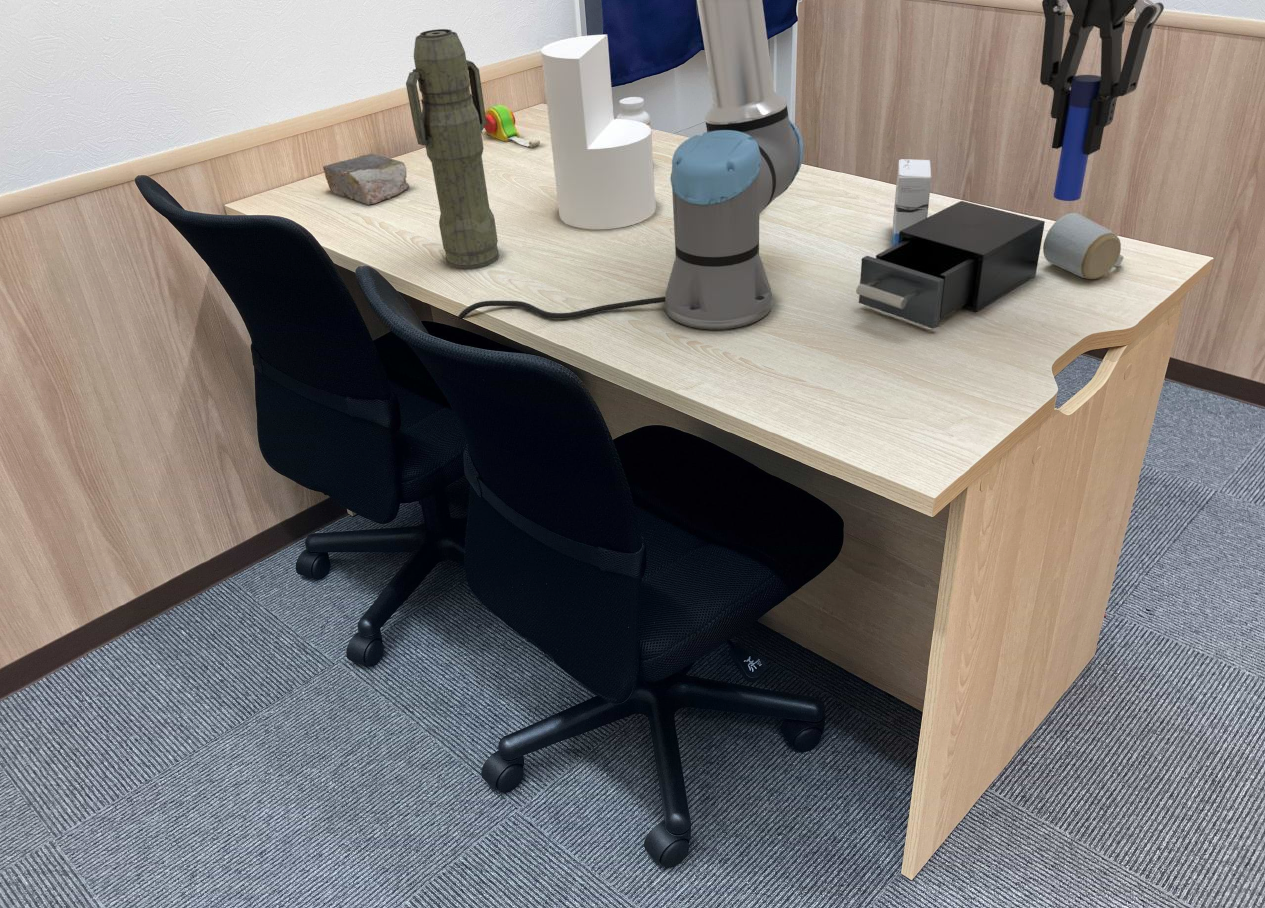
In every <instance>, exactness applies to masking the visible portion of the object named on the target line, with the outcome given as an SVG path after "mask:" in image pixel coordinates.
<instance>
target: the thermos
mask: <svg viewBox="0 0 1265 908" xmlns="http://www.w3.org/2000/svg"><path fill="white" fill-rule="evenodd" d="M413 60H414V69H412V71H410V72H409V73H408V76H407V79H406V82H405V85H406V91H407V97H408V103H409V109H410V113H411V119H412V125H413V130H414V134H415V137H416V141H417V144H418V145H420V146H425V151H426V156H427V158H428V160H429V161H430V162H431V167H432V168H431V169H432V172H433V178H434V184H435V189H436V196H437V201H438V205H439V206H438V207H439V213H440V214H439V221H438V226H439V231H440V237H441V243H442V248H443V250H444V252H445V259H446V265H448V266H449V267H451V268H454V269H458V270H474V269H480V268H483V267H488V266H489V265H491V264H494V263H495V262H496V261H497V260H498V259H499V257H500V251H499V249H498V242H499V240H498V239H499V238H498V233H497V226H496V220H495V215H494V213H493V211H492V209H491V208H490V203H489V195H488V189H487V182H486V176H485V175H486V174H485V170H484V163H483V153H484V141H483V130H485V128H484V127H485V125H486V123H487V121H486V115H485V113H486V110H485V109H486V108H485V103H484V95H483V87H482V82H481V75H480V69H479V67H477V65H476V64H475V63H474V62H473V61H471V60H468V59H467V55H466V51H465V47H464V46H463V44H462V41H461V39H460V37H459V35H458V32H457V31H452V29H447V28H437V29H430V30H426V31H422V32H420V33H419V35H417V36H415V41H414V48H413ZM419 93H421V98H422V99H421V100H420V96H419ZM420 101H421V102H420Z"/></svg>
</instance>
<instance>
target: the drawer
mask: <svg viewBox="0 0 1265 908" xmlns="http://www.w3.org/2000/svg"><path fill="white" fill-rule="evenodd" d="M978 261H979V258H976V257H972V256H969V255H965V254H962V253H958V252H955V251H951V250H948V249H944V248H941V247H937V246H934V245H930V244H927V243H923V242H920V241H916V240H913V239H907V240H905V241H903V242H901V243H899V244H897V245H895V246H893V245H892V247H888V248H887V249H886V250H883V251H881V252H880V253H877V254H876V255H875V257H873V256H869V255H866V256H864V257H861V266H860V277H859V278H860V279H859V284H858V286H857V288H856V294H857V295H859V296H858V303H859V304H861V305H864V306H866V307H870V308H873V309H876V310H878V311H881V312H884V313H887V314H890V315H893V316H895V317H899V318H901V319H904V320H906V321H910V322H913V323H916V324H918V325H922V326H924V327H927V328H930V329H934V330H935V329H936V328H938V327H939V325H940V320H942V319H944V318H945V317H947V316H949V315H951V314H952V313H954V312H956V311H957V310H959V309H962V308H961V307H963V306H964V305H966V304H968V303H969V302H971V301H973V298H974V290H975V283H976V276H977V268H978Z"/></svg>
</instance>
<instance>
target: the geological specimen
mask: <svg viewBox="0 0 1265 908" xmlns="http://www.w3.org/2000/svg"><path fill="white" fill-rule="evenodd" d="M322 169H323V172H324V176H325V177H324V178H325V180H326V182H327V186H328V188H329V190H330V193H331V194H335V195H338V196H341V197H344V198H347V199H351V200H355V201H356V202H359V203H362V204H365V205H366V206H370V205H374V204H378V203H380V202H382V201H384V200H389V199H391V198H393V197H395V196H399V194H401V193H402V192H404V191H407V189H410V184H409V183H408V182H407V179H406V178H407V166H406V164H405V162H404V161H400V160H397V159H393V158H389V157H386V156H383V155H378V154H375V153H368V154H363V155H360V156H357V157H353V158H349V159H347V160H346V159H345V160H341V161H338V162H334V163H331V164H330V163H329V164H327V165H323V166H322Z"/></svg>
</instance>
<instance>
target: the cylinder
mask: <svg viewBox="0 0 1265 908" xmlns="http://www.w3.org/2000/svg"><path fill="white" fill-rule="evenodd" d="M608 38H609V37H608V34H590V35H582V36H581V35H580V36H575V37H569V38H564V39H561V40H556V41H553V42H550V43H548V44H546V45H545V46H542V48H540V54H541V62H542V63H541V64H542V72H543V80H544V90H545V98H546V106H547V116H548V125H549V127H548V128H549V135H550V144H551V152H552V160H553V171H554V180H555V188H556V197H557V204H558V205H557V206H558V216H559V219H560V220H561V221H562V222H563V223H564V224H566V225H569V226H571V227H572V228H573V227H574V228H578V229H583V230H595V231H596V230H613V229H621V228H625V227H630V226H634V225H636V224H639V223H642V222H644V221H646V220H647V219H650V218H651V217H652V216H654V214H655V212H656V205H657V204H656V190H655V189H656V188H655V170H654V152H653V151H654V150H653V136H652V135H653V134H652V129H651V126H650V127H649V126H648V125H646V124H644V123H642V122H638V121H633V120H626V119H616V118H615V117H614V104H613V103H614V102H613V91H612V79H611V78H612V77H611V66H610V65H611V64H610V53H609V52H610V51H609V39H608Z"/></svg>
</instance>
